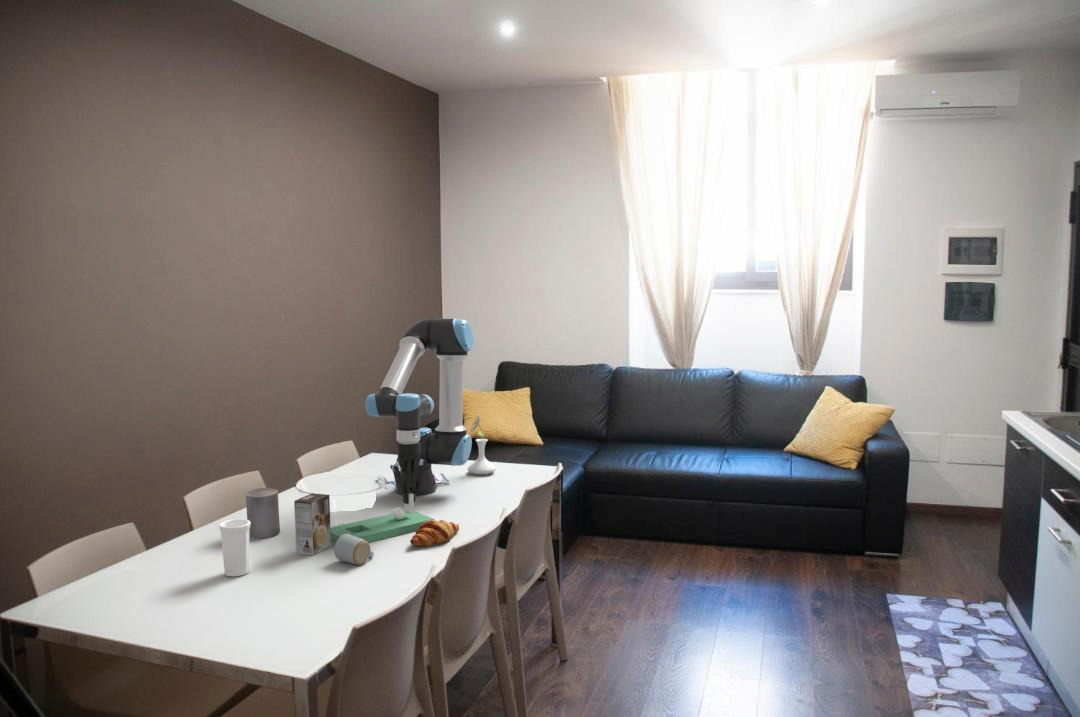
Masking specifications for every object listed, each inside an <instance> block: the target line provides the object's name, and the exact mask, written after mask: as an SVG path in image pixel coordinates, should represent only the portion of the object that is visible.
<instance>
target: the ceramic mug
mask: <svg viewBox="0 0 1080 717" xmlns="http://www.w3.org/2000/svg"><path fill="white" fill-rule="evenodd" d="M371 550H372V549H371V544H370V542H369V543H368V542H367V541H365V540H364V539H361V538H358V537H355V536H353V535H350V534H343V535H342V536H340V537H339V538H338V540H337V541H336V543H334V548H333V551H334V556H335V558H336V559H337V560H339V561H342V562H345V563H349V564H353V565H357V566H360V565H363V564H364V563H366V562H367V561H368V559H369V558H373V557H374V555H375V552H374V551H371Z"/></svg>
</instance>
